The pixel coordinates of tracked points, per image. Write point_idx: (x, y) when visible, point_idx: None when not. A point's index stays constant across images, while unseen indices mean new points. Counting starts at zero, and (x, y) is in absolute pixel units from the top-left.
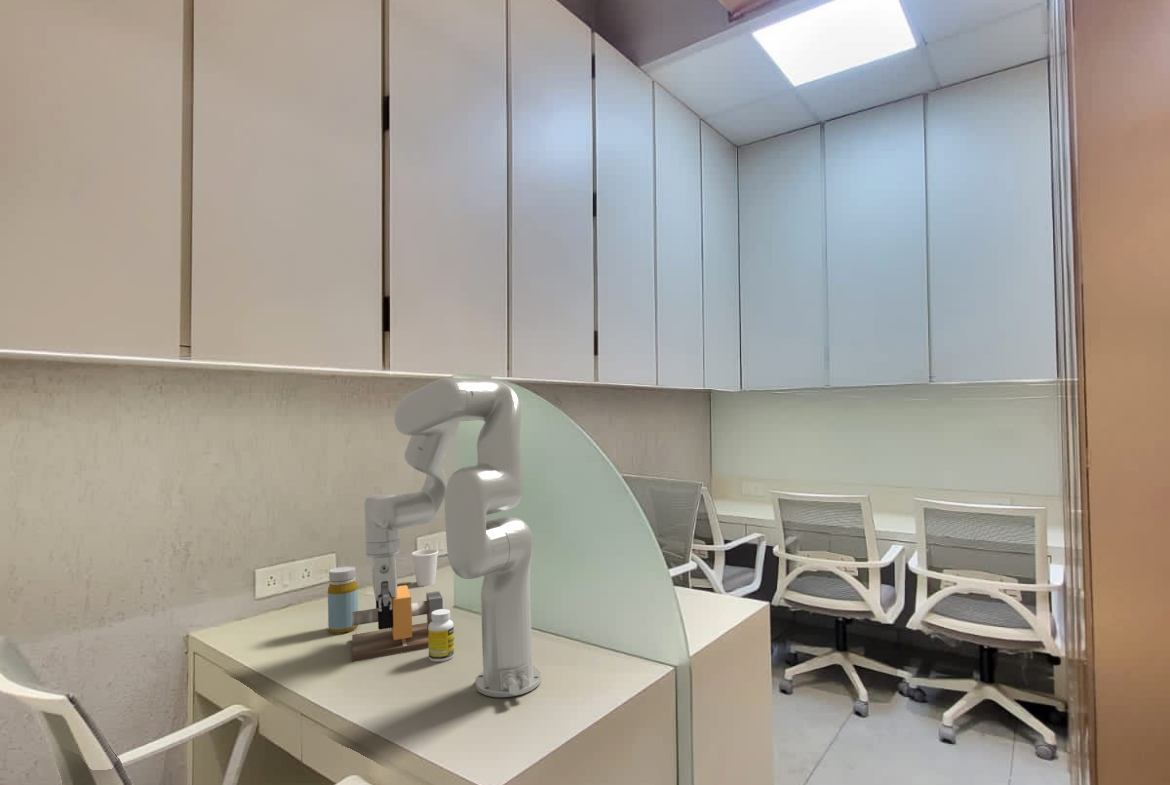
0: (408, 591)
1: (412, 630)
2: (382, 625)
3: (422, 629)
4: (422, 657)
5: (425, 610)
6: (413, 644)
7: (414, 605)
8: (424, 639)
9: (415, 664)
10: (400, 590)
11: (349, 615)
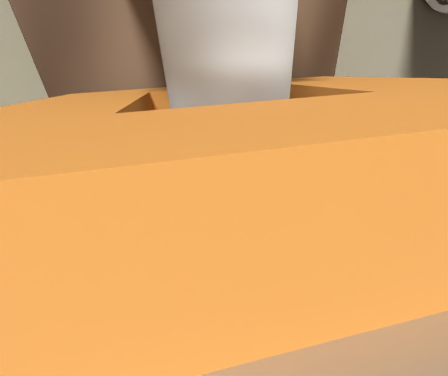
0: (420, 149)
1: (138, 67)
2: None
3: (137, 1)
4: (402, 40)
5: None
6: (328, 72)
7: (290, 28)
8: (300, 9)
9: (434, 71)
10: (201, 327)
11: None
